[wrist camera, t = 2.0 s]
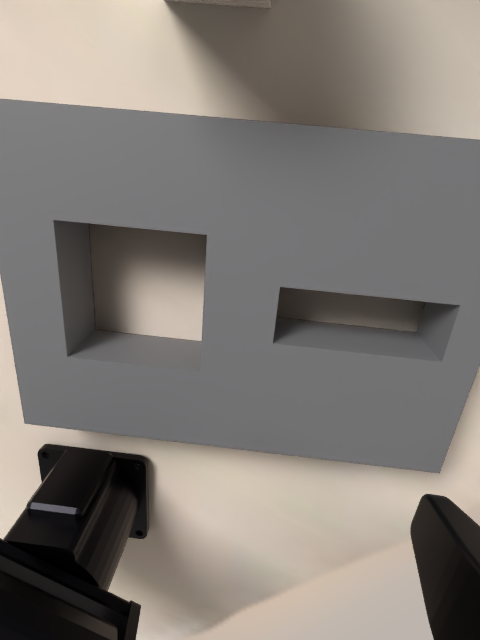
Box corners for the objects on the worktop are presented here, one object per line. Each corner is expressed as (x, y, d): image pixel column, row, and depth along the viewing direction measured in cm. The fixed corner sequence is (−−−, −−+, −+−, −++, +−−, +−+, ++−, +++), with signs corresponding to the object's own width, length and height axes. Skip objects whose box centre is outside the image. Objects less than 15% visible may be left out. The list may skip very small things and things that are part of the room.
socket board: (417, 431, 21) (439, 473, 18) (56, 389, 22) (24, 423, 19) (508, 149, 15) (559, 146, 13) (22, 107, 16) (-29, 96, 13)
